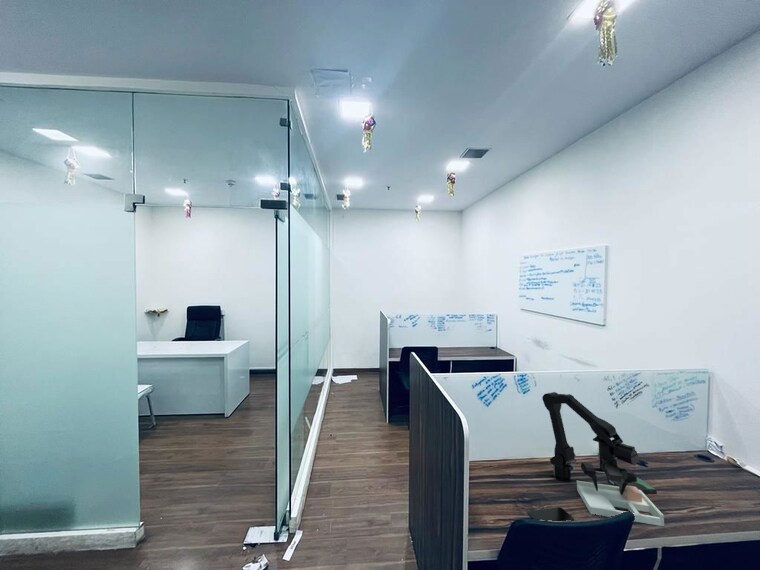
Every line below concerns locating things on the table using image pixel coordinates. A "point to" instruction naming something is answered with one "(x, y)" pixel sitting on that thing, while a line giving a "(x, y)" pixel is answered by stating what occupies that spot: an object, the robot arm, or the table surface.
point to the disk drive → (638, 486)
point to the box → (617, 503)
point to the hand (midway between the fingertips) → (608, 492)
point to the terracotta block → (632, 494)
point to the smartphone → (551, 514)
